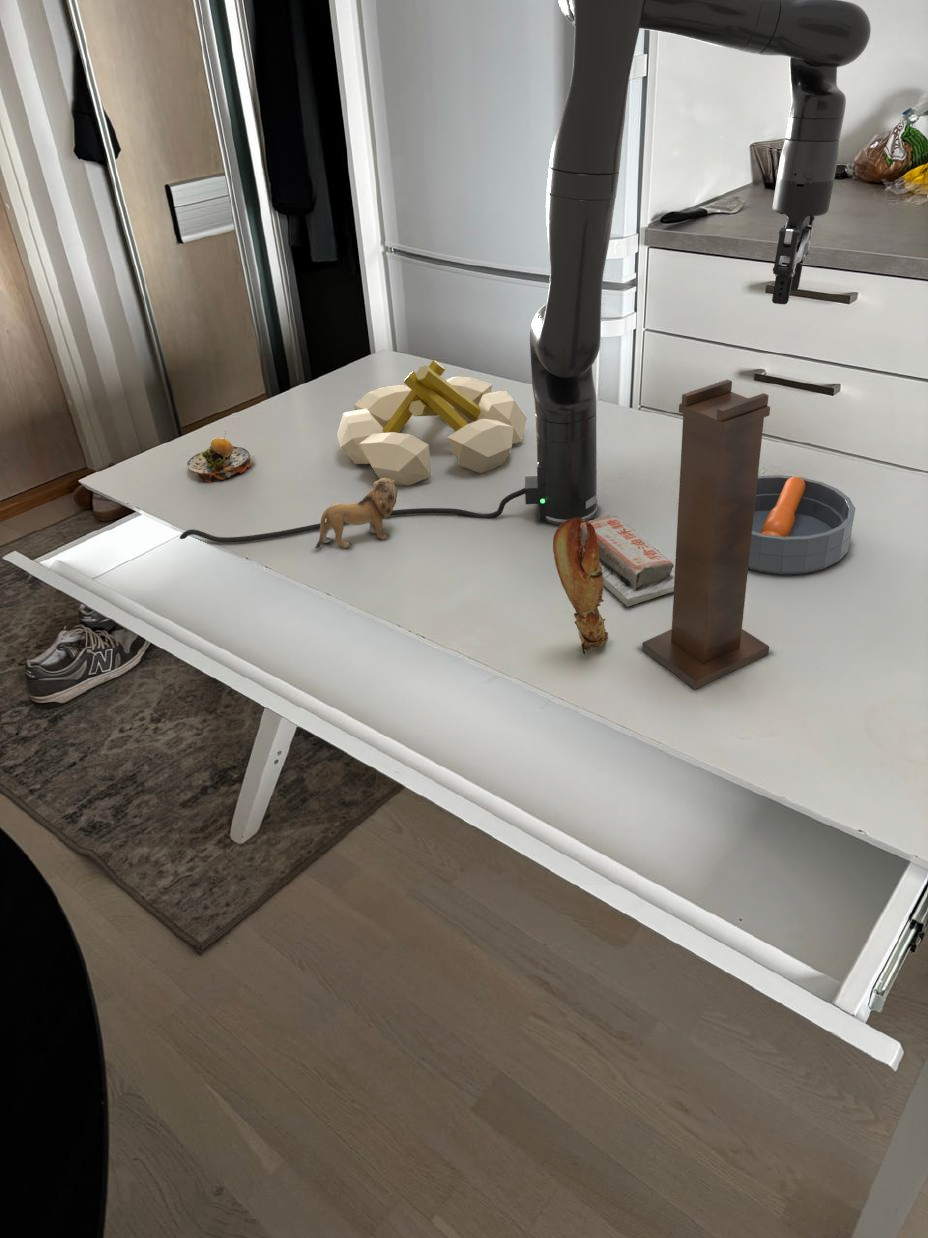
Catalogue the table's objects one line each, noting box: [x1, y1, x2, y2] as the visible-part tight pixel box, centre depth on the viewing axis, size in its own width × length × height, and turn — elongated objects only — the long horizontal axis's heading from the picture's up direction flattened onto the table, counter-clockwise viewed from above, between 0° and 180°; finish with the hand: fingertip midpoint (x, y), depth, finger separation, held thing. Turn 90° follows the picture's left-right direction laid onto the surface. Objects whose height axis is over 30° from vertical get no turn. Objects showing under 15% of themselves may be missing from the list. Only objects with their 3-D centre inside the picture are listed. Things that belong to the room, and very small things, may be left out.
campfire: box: [336, 359, 527, 487], centre depth 174 cm, size 35×34×17 cm
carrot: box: [760, 476, 805, 537], centre depth 139 cm, size 18×4×4 cm, turn 150°
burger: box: [187, 430, 253, 483], centre depth 176 cm, size 12×12×8 cm
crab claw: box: [552, 517, 609, 655], centre depth 117 cm, size 7×5×20 cm
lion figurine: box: [314, 478, 398, 549], centre depth 149 cm, size 15×5×9 cm, turn 116°
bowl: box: [748, 474, 856, 575], centre depth 139 cm, size 20×20×6 cm
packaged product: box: [580, 515, 675, 608], centre depth 136 cm, size 18×5×10 cm
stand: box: [641, 379, 771, 690], centre depth 110 cm, size 12×10×34 cm
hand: (785, 296), depth 139 cm, fingers open, 8 cm apart
